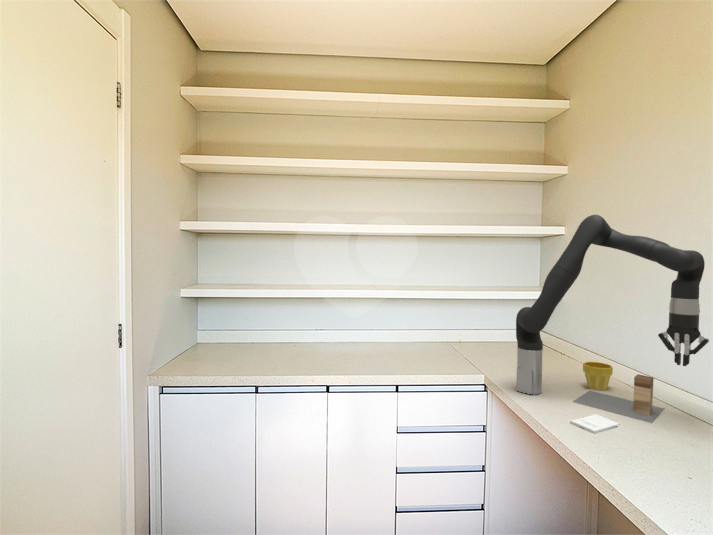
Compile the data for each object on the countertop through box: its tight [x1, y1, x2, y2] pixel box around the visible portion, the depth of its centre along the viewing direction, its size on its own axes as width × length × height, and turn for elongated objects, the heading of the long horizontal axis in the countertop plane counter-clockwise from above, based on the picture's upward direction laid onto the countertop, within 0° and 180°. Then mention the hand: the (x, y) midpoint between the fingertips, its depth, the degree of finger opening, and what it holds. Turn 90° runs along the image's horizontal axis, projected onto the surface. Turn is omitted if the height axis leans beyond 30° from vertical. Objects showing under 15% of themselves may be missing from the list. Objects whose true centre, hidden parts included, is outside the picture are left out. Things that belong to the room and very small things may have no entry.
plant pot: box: [582, 361, 614, 391], centre depth 162 cm, size 10×10×10 cm
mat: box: [572, 390, 665, 424], centre depth 143 cm, size 18×24×1 cm
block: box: [633, 373, 655, 415], centre depth 137 cm, size 4×4×12 cm
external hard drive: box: [569, 413, 620, 435], centre depth 128 cm, size 2×8×12 cm
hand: (681, 365), depth 129 cm, fingers closed
